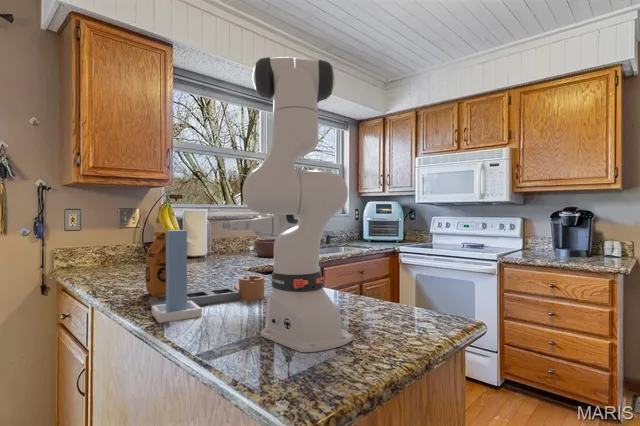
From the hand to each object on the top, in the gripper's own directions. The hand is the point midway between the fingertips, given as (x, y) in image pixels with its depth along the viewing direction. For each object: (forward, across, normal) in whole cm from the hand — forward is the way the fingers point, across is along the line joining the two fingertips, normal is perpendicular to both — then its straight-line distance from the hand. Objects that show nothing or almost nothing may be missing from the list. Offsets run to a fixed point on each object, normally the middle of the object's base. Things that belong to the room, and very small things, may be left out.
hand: (225, 225), depth 111 cm
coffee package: (+13, -28, +24) cm, 39 cm away
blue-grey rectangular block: (+14, 0, +24) cm, 28 cm away
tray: (+14, 0, +25) cm, 29 cm away
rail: (+6, -10, +24) cm, 27 cm away
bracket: (-12, -11, +24) cm, 30 cm away
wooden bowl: (-72, -110, +19) cm, 133 cm away
